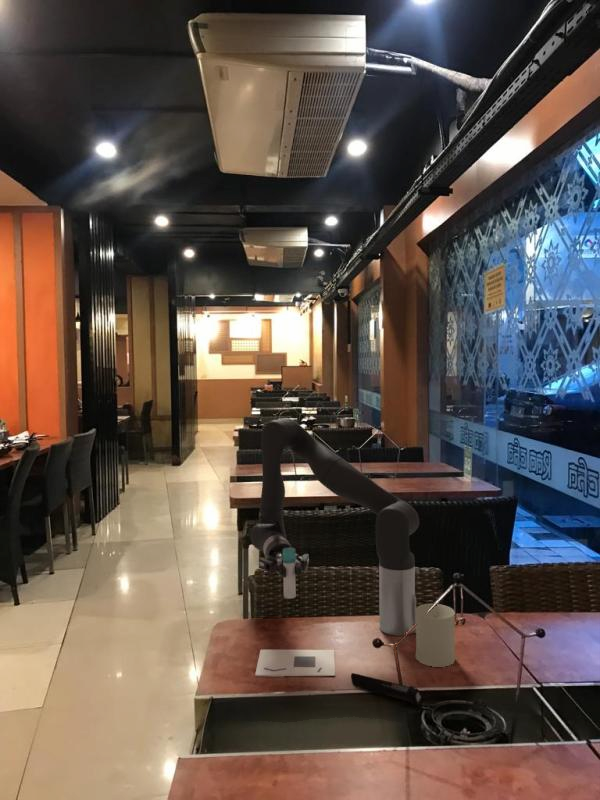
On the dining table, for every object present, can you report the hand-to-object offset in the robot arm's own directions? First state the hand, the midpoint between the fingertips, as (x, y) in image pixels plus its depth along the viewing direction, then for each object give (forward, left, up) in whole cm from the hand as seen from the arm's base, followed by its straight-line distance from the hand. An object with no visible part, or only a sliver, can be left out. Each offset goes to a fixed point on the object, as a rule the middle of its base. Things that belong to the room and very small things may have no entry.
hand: (291, 572), depth 149 cm
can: (-34, +5, -19) cm, 40 cm away
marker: (+1, -3, -7) cm, 8 cm away
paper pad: (-1, +8, -19) cm, 21 cm away
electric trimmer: (-21, +21, -19) cm, 35 cm away
